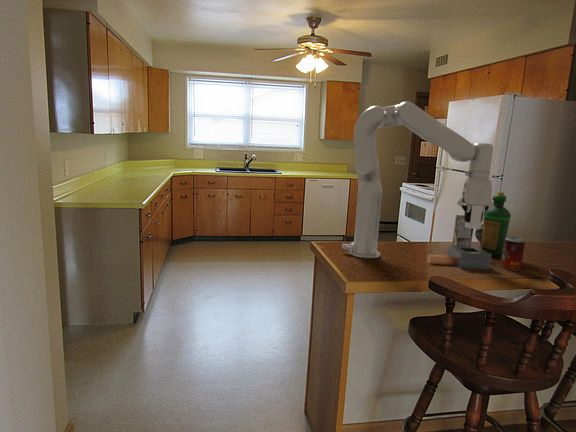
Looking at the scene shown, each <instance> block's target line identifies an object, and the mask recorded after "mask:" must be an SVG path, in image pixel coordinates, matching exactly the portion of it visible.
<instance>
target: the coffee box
mask: <svg viewBox="0 0 576 432" xmlns="http://www.w3.org/2000/svg"><path fill="white" fill-rule="evenodd" d="M464 215H465V214H464ZM464 215H463V214H462V215H459V214H455V219H454V227H453V235H452V244H451V246H472V240H473V233H474V229H470V228H467V227H465V220H464Z"/></svg>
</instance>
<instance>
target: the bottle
mask: <svg viewBox="0 0 576 432" xmlns="http://www.w3.org/2000/svg"><path fill="white" fill-rule="evenodd" d="M491 201H492V203H493V206H492V207H491V208H489V209H488V210H486V211H485V213H483V220H482V224H483V233H482V246H481V247H480V249H482V250H484V251H486V252H488V253H490V254H492V257H491V258H496V259H497V258H502V255H503V248H504V241H505V238H507V237H508V236H507V234H508V230H509V226H510V221H511V216H512V215H511V212H510V210H508V208H506V207H505V202H507V196H506V195H505V192H503V191H502V192H501V191H496V192H495V194H493V195H492V200H491Z"/></svg>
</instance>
